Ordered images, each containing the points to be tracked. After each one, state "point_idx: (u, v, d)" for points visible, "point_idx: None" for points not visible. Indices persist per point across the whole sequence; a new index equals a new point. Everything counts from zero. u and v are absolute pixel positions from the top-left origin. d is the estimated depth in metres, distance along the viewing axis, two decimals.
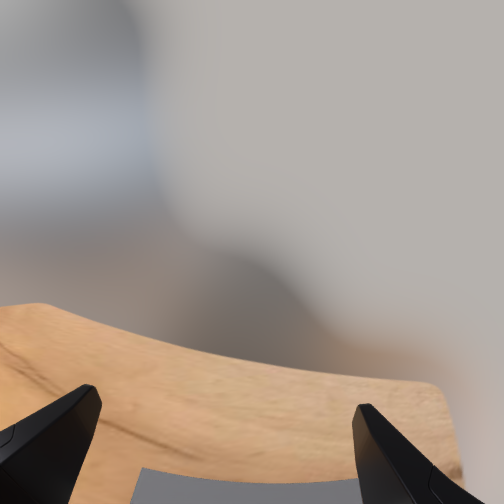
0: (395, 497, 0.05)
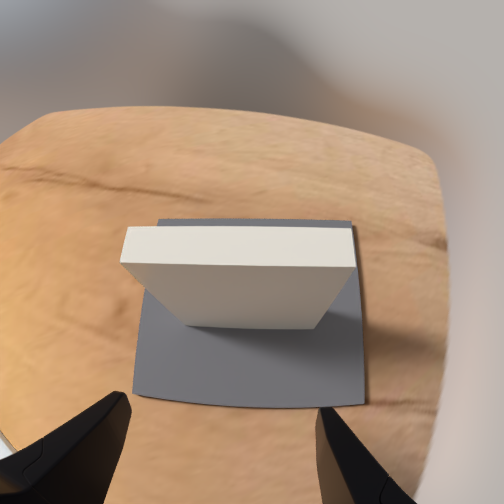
0: None
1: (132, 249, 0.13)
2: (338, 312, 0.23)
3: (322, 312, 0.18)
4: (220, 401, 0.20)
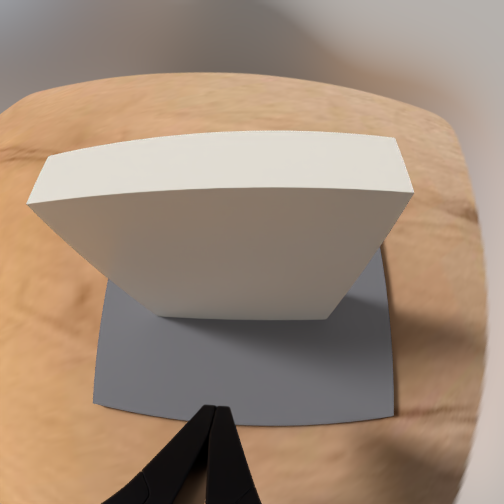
0: None
1: (45, 183, 0.07)
2: (358, 297, 0.17)
3: (342, 292, 0.12)
4: None
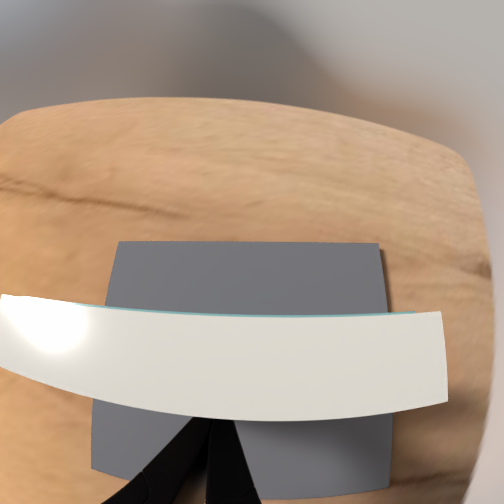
0: None
1: (3, 341, 0.05)
2: None
3: None
4: None
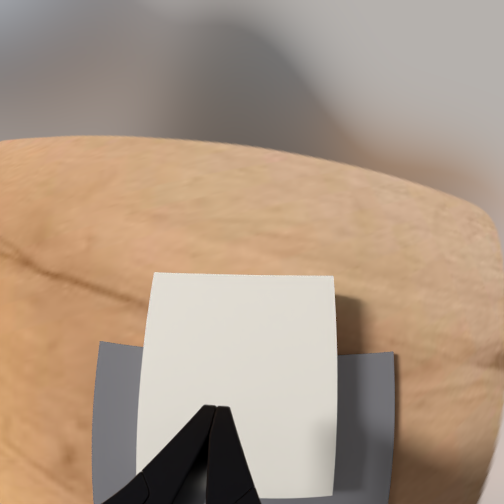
0: None
1: None
2: (359, 491, 0.12)
3: (333, 407, 0.13)
4: None
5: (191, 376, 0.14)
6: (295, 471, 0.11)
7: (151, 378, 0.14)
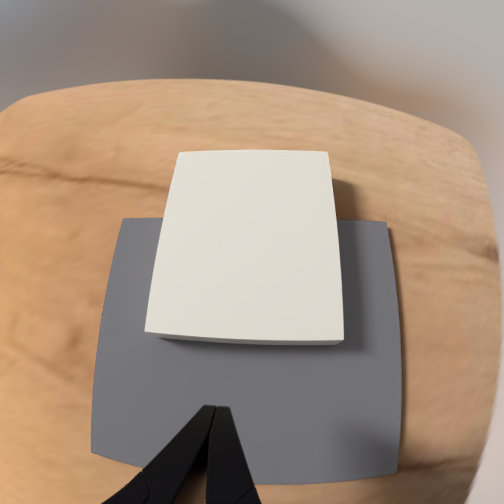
0: None
1: None
2: (370, 355, 0.15)
3: (335, 247, 0.16)
4: None
5: (208, 221, 0.17)
6: (304, 308, 0.15)
7: (171, 227, 0.17)
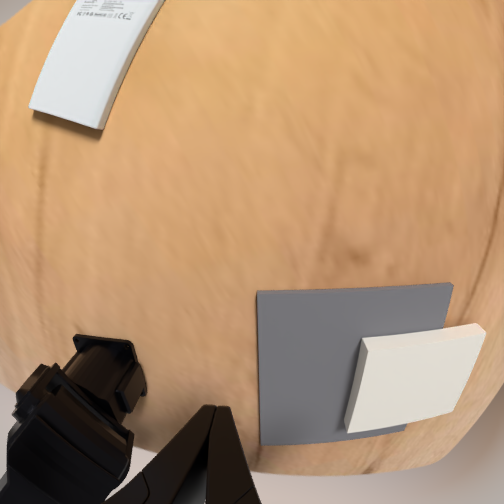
0: None
1: None
2: (333, 431, 0.26)
3: (395, 424, 0.23)
4: (262, 371, 0.23)
5: (430, 368, 0.20)
6: (367, 418, 0.22)
7: (433, 348, 0.20)
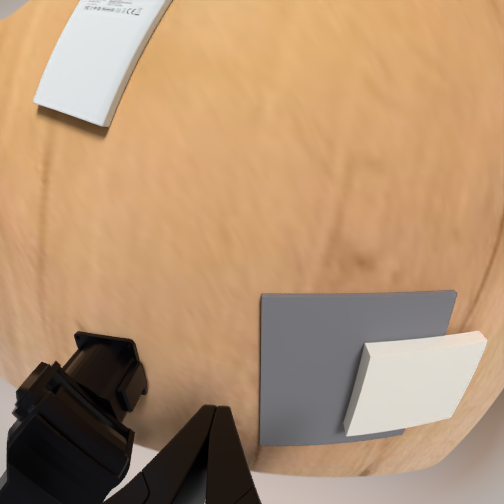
0: None
1: None
2: (332, 434, 0.26)
3: (394, 428, 0.23)
4: (264, 373, 0.23)
5: (431, 375, 0.20)
6: (366, 422, 0.22)
7: (435, 355, 0.20)
